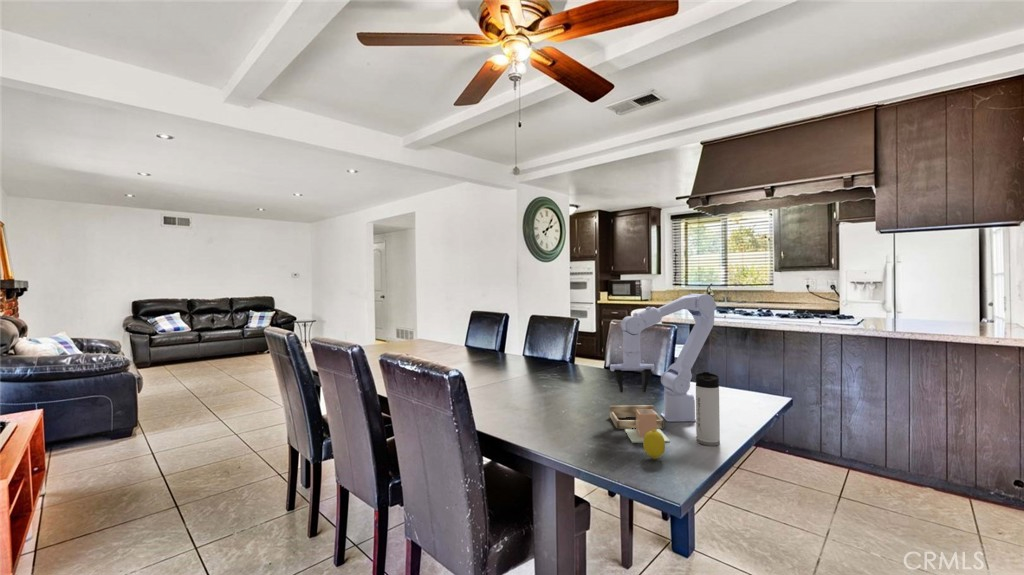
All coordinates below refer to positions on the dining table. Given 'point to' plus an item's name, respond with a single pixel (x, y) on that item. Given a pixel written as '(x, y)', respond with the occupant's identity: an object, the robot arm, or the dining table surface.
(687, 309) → the robot arm
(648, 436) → the lemon
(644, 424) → the tan upright block
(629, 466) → the dining table surface
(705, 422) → the travel mug
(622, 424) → the frame
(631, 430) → the mat
